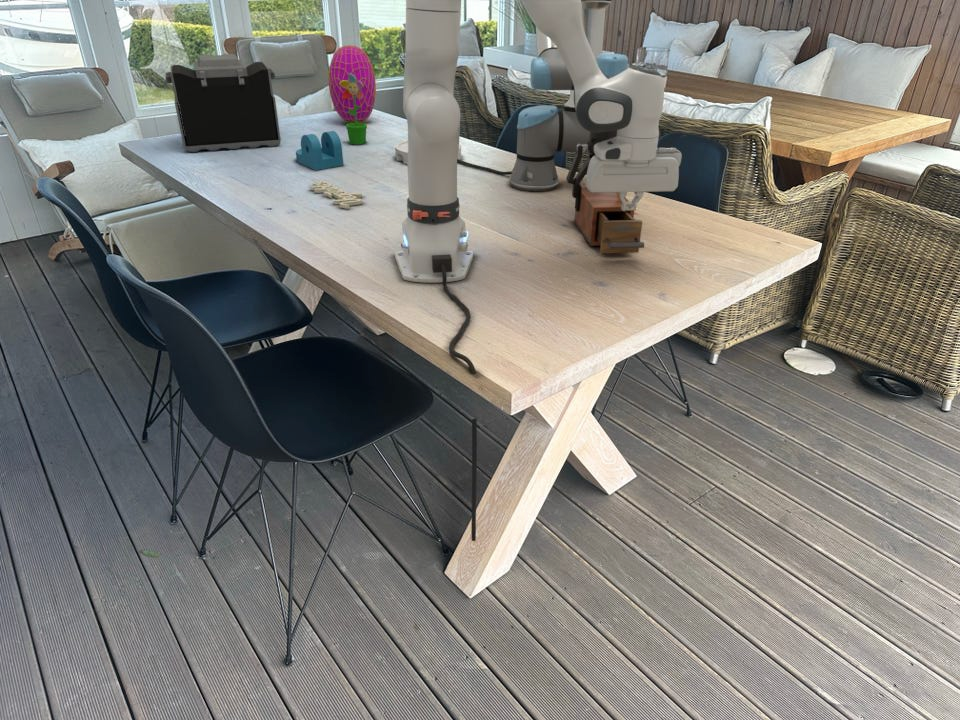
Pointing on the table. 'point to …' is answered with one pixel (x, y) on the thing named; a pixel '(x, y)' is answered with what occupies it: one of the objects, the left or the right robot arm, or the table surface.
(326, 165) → the camera mount
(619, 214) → the drawer
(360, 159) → the table surface
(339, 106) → the decorative egg
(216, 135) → the electronic device
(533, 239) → the table surface
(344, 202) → the decorative sign
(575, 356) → the table surface
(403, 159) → the ashtray
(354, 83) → the potted flower
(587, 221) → the cabinet
